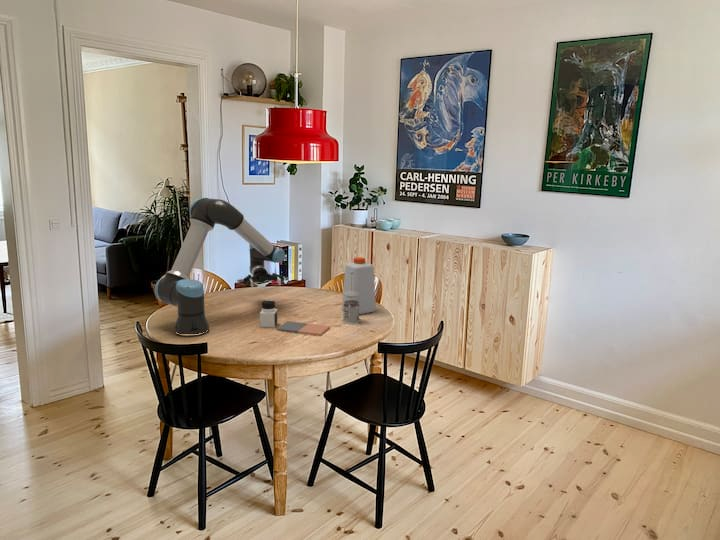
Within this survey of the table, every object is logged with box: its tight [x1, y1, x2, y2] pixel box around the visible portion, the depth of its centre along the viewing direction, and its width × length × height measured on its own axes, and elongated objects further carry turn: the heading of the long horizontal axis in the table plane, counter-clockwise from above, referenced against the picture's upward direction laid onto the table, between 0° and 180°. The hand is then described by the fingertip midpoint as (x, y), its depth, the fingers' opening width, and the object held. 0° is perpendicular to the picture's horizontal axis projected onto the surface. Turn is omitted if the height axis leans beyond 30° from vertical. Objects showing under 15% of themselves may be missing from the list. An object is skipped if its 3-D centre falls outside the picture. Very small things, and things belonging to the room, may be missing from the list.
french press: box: [341, 271, 362, 325], centre depth 266 cm, size 10×12×25 cm
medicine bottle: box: [259, 299, 278, 328], centre depth 259 cm, size 7×7×12 cm
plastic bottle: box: [341, 256, 377, 315], centre depth 283 cm, size 15×15×28 cm
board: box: [275, 320, 331, 337], centre depth 255 cm, size 12×22×1 cm, turn 71°
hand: (266, 283), depth 266 cm, fingers open, 13 cm apart
